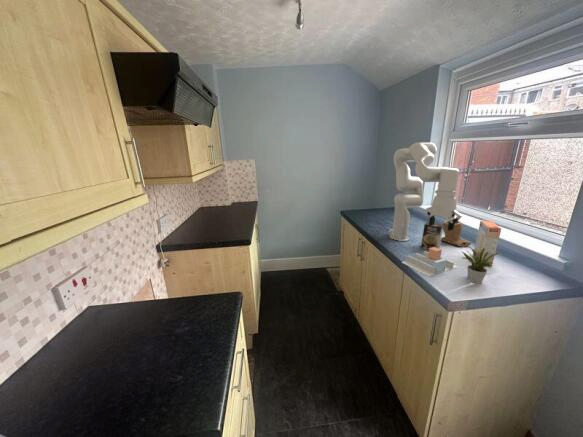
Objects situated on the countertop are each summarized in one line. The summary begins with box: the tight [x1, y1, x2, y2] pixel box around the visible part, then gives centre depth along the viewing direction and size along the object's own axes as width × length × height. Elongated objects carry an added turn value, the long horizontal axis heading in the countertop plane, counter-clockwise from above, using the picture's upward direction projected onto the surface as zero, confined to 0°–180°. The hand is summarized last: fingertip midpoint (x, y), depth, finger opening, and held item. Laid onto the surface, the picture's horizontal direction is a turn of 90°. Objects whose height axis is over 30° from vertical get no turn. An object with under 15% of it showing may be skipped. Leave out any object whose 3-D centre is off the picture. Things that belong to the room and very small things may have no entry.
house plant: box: [460, 245, 503, 285], centre depth 105 cm, size 14×14×16 cm
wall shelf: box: [401, 250, 459, 277], centre depth 121 cm, size 16×22×7 cm
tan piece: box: [441, 219, 472, 247], centre depth 148 cm, size 15×12×15 cm
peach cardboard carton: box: [428, 247, 442, 261], centre depth 121 cm, size 4×4×8 cm
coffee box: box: [420, 221, 444, 251], centre depth 139 cm, size 9×6×16 cm
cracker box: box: [472, 220, 502, 266], centre depth 124 cm, size 14×6×21 cm, turn 153°
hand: (440, 227), depth 117 cm, fingers open, 9 cm apart
